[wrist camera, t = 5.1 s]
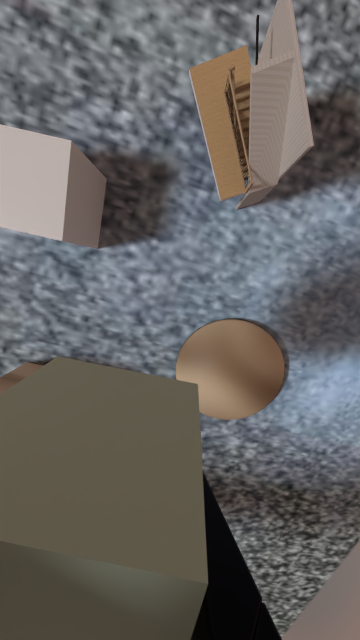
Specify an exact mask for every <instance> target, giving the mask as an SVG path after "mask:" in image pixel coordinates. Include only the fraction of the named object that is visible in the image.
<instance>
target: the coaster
mask: <svg viewBox="0 0 360 640" xmlns="http://www.w3.org/2000/svg"><path fill="white" fill-rule="evenodd" d="M284 372H285V368H284V359H283V355H282V352H281V350H280V348H279V346H278V344H277V343H276V342H275V340H274V339H273V338H272V337H271V336H270V335H269V334H268V333H267V332H266V331H264V330H263V329H262V328H260V327H259V326H257V325H255V324H253V323H250V322H247V321H244V320H238V319H223V320H218V321H214V322H211V323H208V324H206V325H204V326H202V327H200V328H199V329H197V330H196V331H195V332H194V333H192V334H191V335H190V336H189V337H188V339H187V340H186V341H185V343H184V344H183V346H182V348H181V350H180V352H179V355H178V358H177V364H176V379H177V380H180V381H185V382H190V383H195V384H198V393H199V412H201V413H203V414H205V415H207V416H210V417H213V418H218V419H227V420H231V419H240V418H244V417H248V416H250V415H253V414H255V413H257V412H259V411H260V410H262V409H263V408H265V407H266V406H267V405H268V404H269V403H270V402H271V401H272V400H273V399H274V398H275V396H276V395H277V393H278V392H279V390H280V387H281V385H282V382H283V379H284Z"/></svg>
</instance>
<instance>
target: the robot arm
mask: <svg viewBox="0 0 360 640" xmlns="http://www.w3.org/2000/svg"><path fill="white" fill-rule="evenodd" d="M202 471H203V470H202ZM203 491H204V511H205V530H206V550H207V569H208V586H207V589H206V592H205V595H204V599H203V602H202V605H201V608H200V611H199V614H198V617H197V621H196V624H195V627H194V630H193V633H192V636H191V640H282V639H281V637H280V635H279V633H278V631H277V629H276V626H275V624H274V622H273V620H272V618H271V616H270V614H269V611H268V609H267V607H266V605H265V603H262V597H261V595H260V592H259V590H258V588H257V586H256V584H255V582H254V580H253V577H252V575H251V573H250V571H249V569H248V567H247V565H246V562H245V560H244V558H243V556H242V554H241V552H240V550H239V547H238V545H237V543H236V541H235V539H234V537H233V535H232V532H231V530H230V528H229V526H228V524H227V522H226V520H225V518H224V515H223V513H222V511H221V509H220V507H219V505H218V503H217V500H216V498H215V496H214V494H213V492H212V490H211V488H210V485H209V483H208V481H207V479H206V477H205V475H204V473H203Z"/></svg>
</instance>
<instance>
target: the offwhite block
mask: <svg viewBox="0 0 360 640" xmlns="http://www.w3.org/2000/svg"><path fill="white" fill-rule="evenodd" d="M106 181H107V179H106V178H105V177H104V175H103V174H102V173H101V172H100V171H99V170H98V169H97V168H96V167H95V166H94V165H93V164H92V162H91V161H90V160H89V159H88V158H87V157H86V156H85V155H84V154H83V153H82V152H81V151H80V150H79V148H78V147H77V146H76V145H75V144H74V143H73V142H72V141H70V140H66V139H62V138H57V137H53V136H49V135H44V134H40V133H35V132H31V131H27V130H22V129H18V128H13V127H9V126H5V125H0V227H3V228H7V229H12V230H16V231H21V232H25V233H29V234H34V235H38V236H43V237H47V238H51V239H56V240H60V241H65V242H69V243H74V244H78V245H83V246H87V247H92V248H96V249H98V244H99V236H100V228H101V220H102V213H103V205H104V197H105V189H106Z"/></svg>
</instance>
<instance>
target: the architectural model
mask: <svg viewBox="0 0 360 640" xmlns="http://www.w3.org/2000/svg"><path fill="white" fill-rule="evenodd" d="M258 35H259V15H257V19H256V65H255V66H253V67H251V65H250V59H249V54H248V49H247V45H246V46H244V47H241V48H239V49H236V50H234V51H231V52H229V53H227V54H224V55H222V56H219V57H217V58H214V59H212V60H210V61H207V62H205V63H202V64H200V65H197V66H195V67H192V68H190V79H191V83H192V87H193V91H194V95H195V99H196V104H197V108H198V112H199V116H200V120H201V124H202V129H203V133H204V137H205V141H206V145H207V149H208V153H209V158H210V162H211V166H212V170H213V174H214V178H215V182H216V187H217V191H218V195H219V199H220V202H222V201H225V200H228V199H231V198H234V197H237V196H239V195H242V194H245V195H244V196H243V197H242V199H241V200H240V202H239V203H238V204H237V206H236V210H237V209H240V208H243V207H246V206H249V205H252V204H255V203H258V202H260V201H261V200H262V199H263V198H264V197H265V196H266V195H267V194H268V193H269V192H270V191H271V190H272V189H273V188H274V187H275V186H276V185H277V184H278V181H279V180H280V179H281V178H282V177H283V176H284V175H285V174H286V173H287V172H288V171H289V170H290V169H291V168H292V167H293V166H294V165H295V164H296V163H297V162H298V161H299V160H300V159H301V158H302V157H303V156H304V155H305V154H306V153H307V152H308V151H309V150H310V149H311V148H312V147H313V146H314V143H313V136H312V130H311V123H310V116H309V110H308V103H307V97H306V90H305V83H304V77H303V70H302V64H301V57H300V50H299V44H298V37H297V30H296V24H295V17H294V11H293V4H292V0H277V3H276V6H275V9H274V13H273V16H272V19H271V22H270V25H269V28H268V31H267V34H266V37H265V40H264V43H263V46H262V50H261V53H260V56H259V59H258ZM246 177H248V179H247V180H248V183H247V184H248V186H247V185H245V183H246V182H245V181H244V180H245V179H246ZM244 178H245V179H244ZM246 186H247V188H246Z"/></svg>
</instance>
